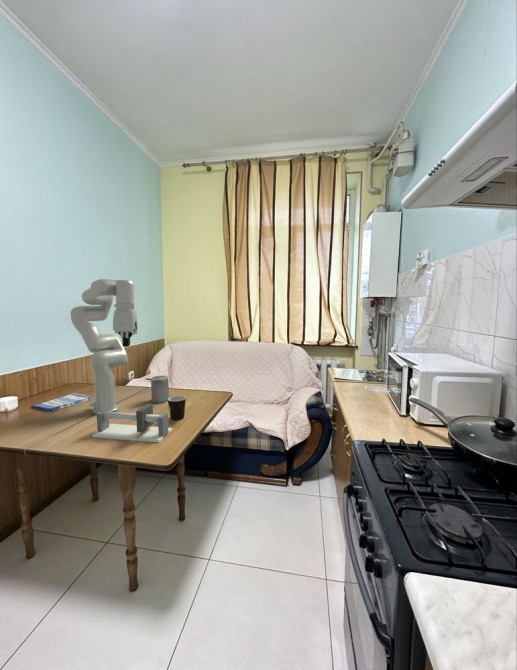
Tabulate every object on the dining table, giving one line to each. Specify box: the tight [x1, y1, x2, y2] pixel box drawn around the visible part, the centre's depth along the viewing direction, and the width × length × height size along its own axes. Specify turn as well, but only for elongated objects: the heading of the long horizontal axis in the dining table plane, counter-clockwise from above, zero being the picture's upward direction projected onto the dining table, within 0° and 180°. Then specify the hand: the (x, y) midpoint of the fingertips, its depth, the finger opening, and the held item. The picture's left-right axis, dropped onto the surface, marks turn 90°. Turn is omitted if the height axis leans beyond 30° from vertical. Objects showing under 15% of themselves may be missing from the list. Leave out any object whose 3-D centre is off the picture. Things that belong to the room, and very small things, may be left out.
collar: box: [135, 403, 154, 432], centre depth 125 cm, size 2×9×9 cm, turn 172°
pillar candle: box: [150, 375, 170, 404], centre depth 170 cm, size 10×10×15 cm
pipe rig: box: [91, 410, 173, 443], centre depth 126 cm, size 30×12×9 cm, turn 82°
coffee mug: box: [167, 395, 187, 422], centre depth 142 cm, size 12×9×10 cm
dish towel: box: [30, 392, 92, 413], centre depth 165 cm, size 17×24×3 cm
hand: (126, 346), depth 137 cm, fingers closed
